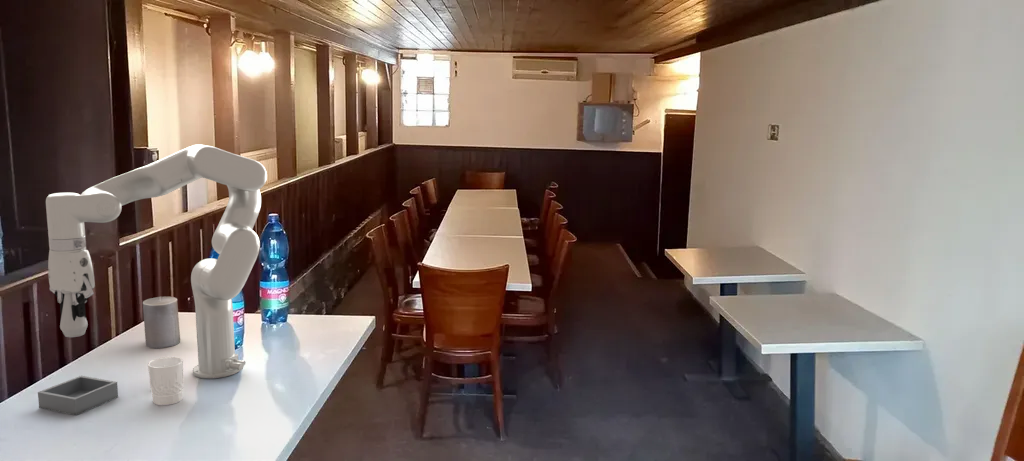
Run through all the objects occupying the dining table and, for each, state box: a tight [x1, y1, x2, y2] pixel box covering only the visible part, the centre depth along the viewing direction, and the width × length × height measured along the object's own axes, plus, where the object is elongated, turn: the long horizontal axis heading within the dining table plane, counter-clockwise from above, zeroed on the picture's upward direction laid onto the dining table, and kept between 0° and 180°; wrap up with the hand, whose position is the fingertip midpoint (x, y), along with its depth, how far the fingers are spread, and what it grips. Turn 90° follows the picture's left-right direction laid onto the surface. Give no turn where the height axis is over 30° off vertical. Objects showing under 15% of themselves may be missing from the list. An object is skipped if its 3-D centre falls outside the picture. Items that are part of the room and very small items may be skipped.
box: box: [37, 375, 119, 416], centre depth 183 cm, size 12×12×4 cm
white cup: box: [147, 356, 184, 406], centre depth 185 cm, size 8×8×10 cm
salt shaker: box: [59, 289, 89, 338], centre depth 180 cm, size 6×6×13 cm
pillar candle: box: [142, 296, 181, 349], centre depth 227 cm, size 10×10×15 cm
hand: (73, 318), depth 180 cm, fingers closed on salt shaker, 3 cm apart
